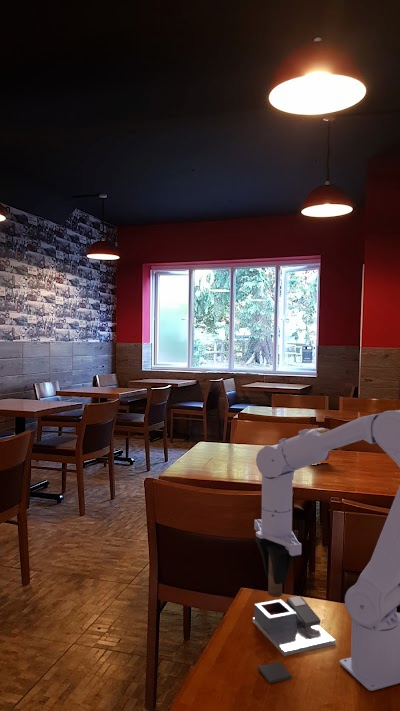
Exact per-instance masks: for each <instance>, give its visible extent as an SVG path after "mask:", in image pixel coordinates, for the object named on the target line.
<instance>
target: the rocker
mask: <svg viewBox="0 0 400 711" xmlns="http://www.w3.org/2000/svg"><path fill="white" fill-rule="evenodd" d="M285 603H286V604H287V605H288V606H289V607H290V608H291V609H293V610H294V611H295V612H296V613H297V618H298V619H299V620H300V622H301V623H302V624H303V626H304V627H305V628H307V627H311V626H316V625H319V626H321V619H320V617H319V616H318V615H317V613H316V612H315V611H314V610H313V608H311V606H310V605H309V604H308V603H307V602H306V600H305V599H304V598H303V596H301V595H299V596H294V597H288V598H286V601H285Z"/></svg>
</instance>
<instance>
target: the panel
mask: <svg viewBox="0 0 400 711" xmlns="http://www.w3.org/2000/svg"><path fill="white" fill-rule="evenodd" d="M271 612H277V613H280V614H275V615H270V614H269V613H271ZM253 614H254V617H252V623H253V624H254V625H255V626H256V627H257V628H258V629H259V630H260V632H262V634H263V635H264V636H265V637H266V638H267V639H268V640H269V641H270V642H271V643H272V644H273V646H274V647H276V649H277V650H278V651H279V652H280V653H281V654H282V655H283V656H284V657H287V656H290V655H294V654H295V655H296V654H299V653H300V654H301V653H304V652H309V651H312V650H313V651H314V650H317V649H321V648H327V647H331V646H335V645H336V642H337V641H336V639H335V638H334V637H333V636H331V635H330V634H329V633H328V632H327V631H326V630H325V629H324V628H322V627H321V625H316V626H311V627H307V628H305V627H304V626H303V624H302V623H301V622H300V620H299V619H298V618H297V613H296V612H295V611H294V610H293V609H291V608H290V607H289V606H288V605H287V603H286V601H284V600H283V599H281V598H279V599H273V600H269V601H264V602H257V603H254V612H253Z"/></svg>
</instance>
